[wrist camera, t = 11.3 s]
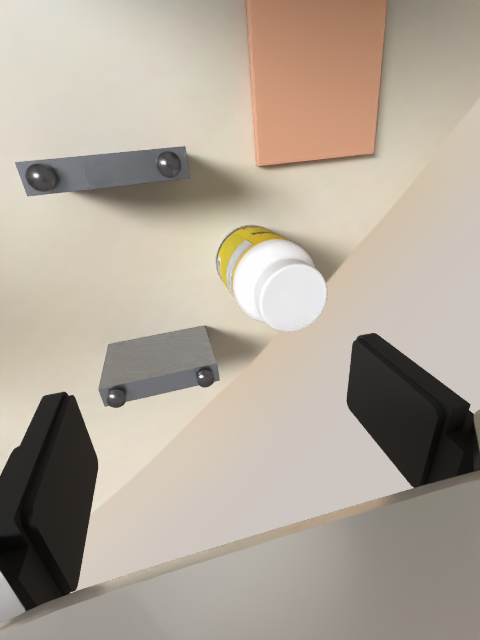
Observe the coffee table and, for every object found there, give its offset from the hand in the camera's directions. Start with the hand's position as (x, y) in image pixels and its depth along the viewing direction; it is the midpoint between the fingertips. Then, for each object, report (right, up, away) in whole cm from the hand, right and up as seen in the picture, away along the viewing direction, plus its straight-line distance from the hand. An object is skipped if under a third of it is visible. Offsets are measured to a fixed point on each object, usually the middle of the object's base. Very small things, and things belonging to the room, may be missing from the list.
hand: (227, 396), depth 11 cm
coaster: (+6, +19, +11) cm, 22 cm away
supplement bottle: (+1, +8, +16) cm, 17 cm away
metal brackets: (-7, +7, +14) cm, 17 cm away
